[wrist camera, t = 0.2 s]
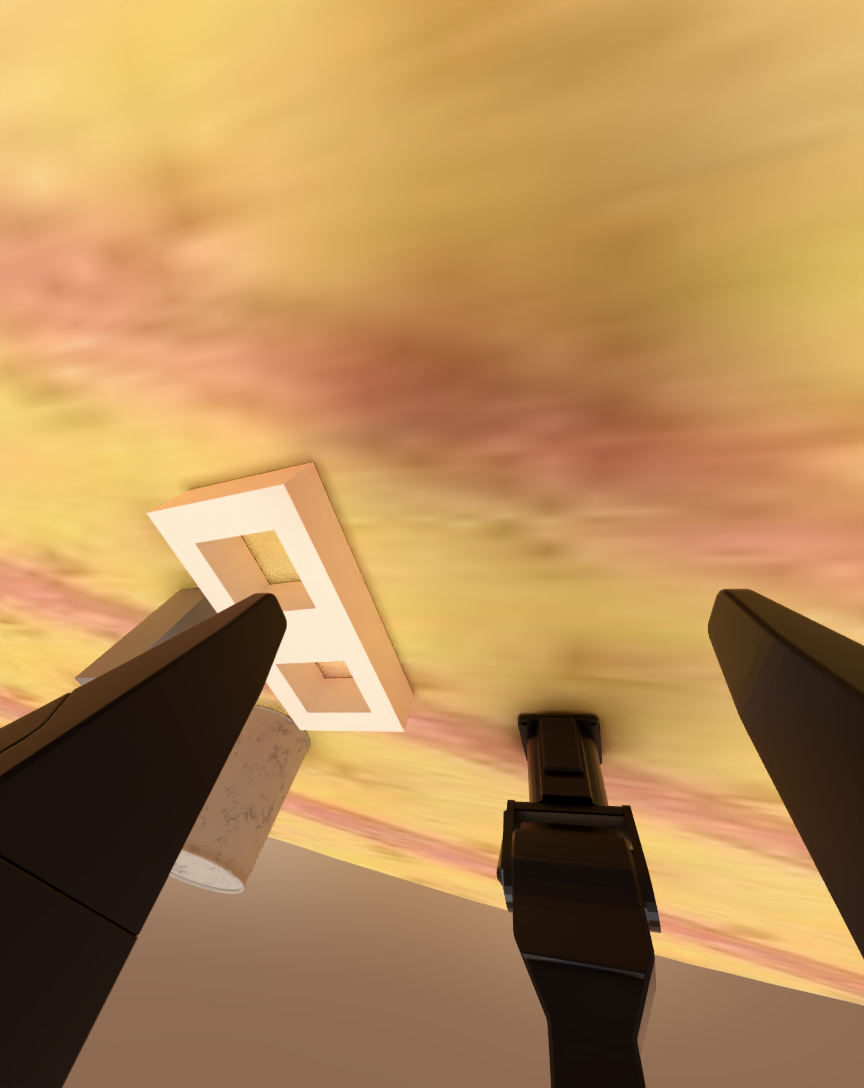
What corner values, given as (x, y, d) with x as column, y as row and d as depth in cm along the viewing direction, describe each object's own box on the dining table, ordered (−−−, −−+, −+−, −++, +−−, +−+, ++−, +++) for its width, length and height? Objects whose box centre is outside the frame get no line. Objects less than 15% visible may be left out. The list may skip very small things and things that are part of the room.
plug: (241, 622, 32) (151, 725, 24) (205, 625, 33) (107, 724, 25) (216, 585, 30) (109, 684, 22) (179, 590, 31) (64, 686, 23)
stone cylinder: (225, 694, 39) (122, 832, 28) (311, 720, 38) (239, 869, 28) (233, 741, 44) (149, 871, 34) (309, 764, 44) (247, 902, 33)
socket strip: (413, 694, 33) (404, 731, 30) (313, 696, 36) (296, 730, 33) (313, 461, 22) (283, 483, 20) (183, 491, 25) (141, 514, 22)
